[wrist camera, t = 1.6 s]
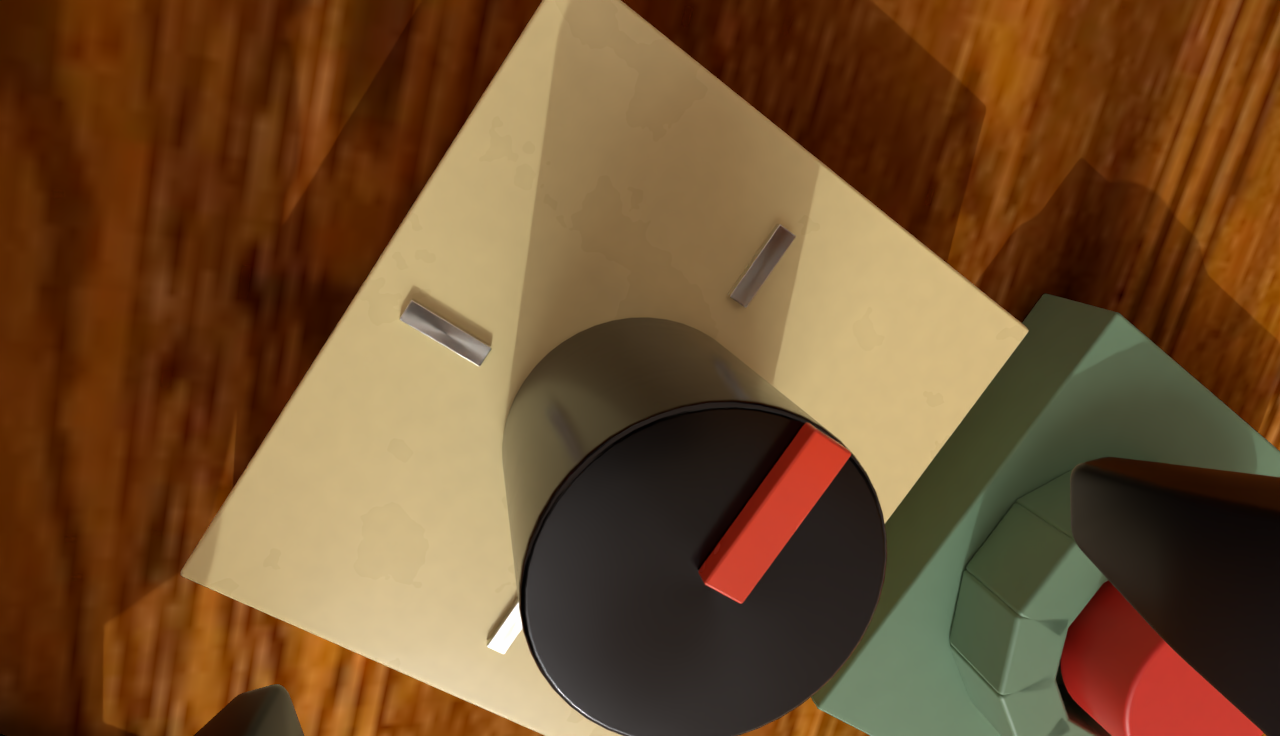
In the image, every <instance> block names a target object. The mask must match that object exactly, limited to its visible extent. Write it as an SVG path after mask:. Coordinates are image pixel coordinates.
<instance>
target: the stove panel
mask: <svg viewBox="0 0 1280 736" xmlns="http://www.w3.org/2000/svg"><path fill="white" fill-rule="evenodd" d="M643 317H650V318H658V319H667V320H671V321H675V322H679V323H682V324H685V325H688V326H690V327H693V328H695V329H697V330H699V331H701V332H703V333H705V334H706V335H708V336H710V337H712V338H713V339H715V340H716V341H717V342H718V343H720V344H721V345H722V346H723V347H725V348H726V349H727V350H729V351H730V352H731V353H732V354H734V355H735V356H736V357H737V358H738V359H740V360H741V361H742V362H743V363H745V364H746V365H747V366H748V367H750V368H751V369H752V370H753V371H755V372H756V373H757V374H758V375H760V376H761V377H762V378H763V379H765V380H766V381H767V382H768V383H770V384H771V385H772V386H773V387H775V388H776V389H777V390H778V391H780V392H781V393H782V394H783V395H785V396H786V397H787V398H788V399H790V400H791V401H792V402H793V403H795V404H796V405H797V406H798V407H800V408H801V409H802V410H803V411H805V412H806V413H807V414H808V415H810V416H811V417H812V418H813V419H815V420H816V421H817V422H818V423H820V424H821V425H822V426H823V427H825V428H826V429H827V430H828V431H830V432H831V433H832V434H833V435H834V436H836V437H837V438H838V439H839V440H841V441H842V443H843V444H844V445H845V446H846V447H847V448H848V449H849V450H850V451H851V452H852V453H853V454H854V455H855V457H856V458H857V459H858V461H859V462H860V464H861V465H862V467H863V468H864V470H865V471H866V472H867V474H868V476H869V478H870V480H871V482H872V484H873V486H874V489H875V491H876V493H877V496H878V499H879V502H880V506H881V509H882V512H883V517H884V523H886V522H887V520H888V519H889V518H890V516H891V515H892V514H893V512H894V511H895V510H896V508H897V507H898V506H899V504H900V503H901V502H902V500H903V499H904V498H905V496H906V495H907V494H908V492H909V491H910V490H911V488H912V487H913V486H914V484H915V483H916V482H917V480H918V479H919V478H920V476H921V475H922V474H923V472H924V471H925V470H926V468H927V467H928V466H929V464H930V463H931V462H932V460H933V459H934V458H935V456H936V455H937V453H938V452H939V451H940V449H941V448H942V447H943V445H944V444H945V443H946V441H947V440H948V439H949V437H950V436H951V435H952V433H953V432H954V431H955V429H956V428H957V427H958V425H959V424H960V423H961V421H962V420H963V419H964V417H965V416H966V415H967V413H968V412H969V411H970V409H971V408H972V407H973V405H974V404H975V403H976V401H977V400H978V399H979V397H980V396H981V395H982V393H983V392H984V391H985V389H986V388H987V387H988V385H989V384H990V383H991V381H992V380H993V379H994V377H995V376H996V375H997V373H998V372H999V371H1000V369H1001V368H1002V366H1003V365H1004V364H1005V362H1006V361H1007V360H1008V358H1009V357H1010V356H1011V354H1012V353H1013V352H1014V350H1015V349H1016V348H1017V346H1018V345H1019V344H1020V342H1021V341H1022V340H1023V338H1024V337H1025V336H1026V334H1027V333H1028V331H1029V330H1028V328H1027V327H1026V326H1025V325H1023V324H1022V323H1021V322H1020V321H1018V320H1017V319H1016V318H1015V317H1013V316H1012V315H1011V314H1010V313H1008V312H1007V311H1006V310H1005V309H1003V308H1002V307H1001V306H1000V305H999V304H997V303H996V302H995V301H994V300H992V299H991V298H990V297H989V296H987V295H986V294H985V293H984V292H982V291H981V290H980V289H979V288H977V287H976V286H975V285H974V284H972V283H971V282H970V281H969V280H968V279H966V278H965V277H964V276H963V275H961V274H960V273H959V272H958V271H956V270H955V269H954V268H953V267H951V266H950V265H949V264H948V263H946V262H945V261H944V260H943V259H941V258H940V257H939V256H938V255H936V254H935V253H934V252H933V251H932V250H930V249H929V248H928V247H927V246H925V245H924V244H923V243H922V242H920V241H919V240H918V239H917V238H915V237H914V236H913V235H912V234H910V233H909V232H908V231H907V230H905V229H904V228H903V227H902V226H900V225H899V224H898V223H897V222H896V221H894V220H893V219H892V218H891V217H889V216H888V215H887V214H886V213H884V212H883V211H882V210H881V209H879V208H878V207H877V206H876V205H874V204H873V203H872V202H871V201H869V200H868V199H867V198H866V197H864V196H863V195H862V194H861V193H860V192H858V191H857V190H856V189H855V188H853V187H852V186H851V185H850V184H848V183H847V182H846V181H845V180H843V179H842V178H841V177H840V176H838V175H837V174H836V173H835V172H833V171H832V170H831V169H830V168H828V167H827V166H826V165H825V164H824V163H822V162H821V161H820V160H819V159H817V158H816V157H815V156H814V155H812V154H811V153H810V152H809V151H807V150H806V149H805V148H804V147H802V146H801V145H800V144H799V143H797V142H796V141H795V140H794V139H792V138H791V137H790V136H789V135H788V134H786V133H785V132H784V131H783V130H781V129H780V128H779V127H778V126H776V125H775V124H774V123H773V122H771V121H770V120H769V119H768V118H766V117H765V116H764V115H763V114H761V113H760V112H759V111H758V110H756V109H755V108H754V107H753V106H752V105H750V104H749V103H748V102H747V101H745V100H744V99H743V98H742V97H740V96H739V95H738V94H737V93H735V92H734V91H733V90H732V89H730V88H729V87H728V86H727V85H725V84H724V83H723V82H722V81H720V80H719V79H718V78H717V77H716V76H714V75H713V74H712V73H711V72H709V71H708V70H707V69H706V68H704V67H703V66H702V65H701V64H699V63H698V62H697V61H696V60H694V59H693V58H692V57H691V56H689V55H688V54H687V53H686V52H684V51H683V50H682V49H681V48H680V47H678V46H677V45H676V44H675V43H673V42H672V41H671V40H670V39H668V38H667V37H666V36H665V35H663V34H662V33H661V32H660V31H658V30H657V29H656V28H655V27H653V26H652V25H651V24H650V23H648V22H647V21H646V20H645V19H644V18H642V17H641V16H640V15H639V14H637V13H636V12H635V11H634V10H632V9H631V8H630V7H629V6H627V5H626V4H625V3H624V2H622V1H621V0H542V2H541V3H540V5H539V6H538V8H537V9H536V11H535V13H534V14H533V16H532V17H531V19H530V21H529V22H528V24H527V25H526V27H525V28H524V30H523V32H522V33H521V35H520V36H519V38H518V39H517V41H516V43H515V44H514V46H513V47H512V49H511V51H510V52H509V54H508V55H507V57H506V58H505V60H504V62H503V63H502V65H501V66H500V68H499V69H498V71H497V73H496V74H495V76H494V77H493V79H492V80H491V82H490V84H489V85H488V87H487V88H486V90H485V92H484V93H483V95H482V96H481V98H480V99H479V101H478V103H477V104H476V106H475V107H474V109H473V110H472V112H471V114H470V115H469V117H468V118H467V120H466V122H465V123H464V125H463V126H462V128H461V129H460V131H459V133H458V134H457V136H456V137H455V139H454V140H453V142H452V144H451V145H450V147H449V148H448V150H447V151H446V153H445V155H444V156H443V158H442V159H441V161H440V163H439V164H438V166H437V167H436V169H435V170H434V172H433V174H432V175H431V177H430V178H429V180H428V181H427V183H426V185H425V186H424V188H423V189H422V191H421V193H420V194H419V196H418V197H417V199H416V200H415V202H414V204H413V205H412V207H411V208H410V210H409V211H408V213H407V215H406V216H405V218H404V219H403V221H402V222H401V224H400V226H399V227H398V229H397V230H396V232H395V234H394V235H393V237H392V238H391V240H390V241H389V243H388V245H387V246H386V248H385V249H384V251H383V252H382V254H381V256H380V257H379V259H378V260H377V262H376V264H375V265H374V267H373V268H372V270H371V271H370V273H369V275H368V276H367V278H366V279H365V281H364V282H363V284H362V286H361V287H360V289H359V290H358V292H357V293H356V295H355V297H354V298H353V300H352V301H351V303H350V305H349V306H348V308H347V309H346V311H345V312H344V314H343V316H342V317H341V319H340V320H339V322H338V323H337V325H336V327H335V328H334V330H333V331H332V333H331V334H330V336H329V338H328V339H327V341H326V342H325V344H324V346H323V347H322V349H321V350H320V352H319V353H318V355H317V357H316V358H315V360H314V361H313V363H312V364H311V366H310V368H309V369H308V371H307V372H306V374H305V376H304V377H303V379H302V380H301V382H300V383H299V385H298V387H297V388H296V390H295V391H294V393H293V394H292V396H291V398H290V399H289V401H288V402H287V404H286V405H285V407H284V409H283V410H282V412H281V413H280V415H279V417H278V418H277V420H276V421H275V423H274V424H273V426H272V428H271V429H270V431H269V432H268V434H267V435H266V437H265V439H264V440H263V442H262V443H261V445H260V447H259V448H258V450H257V451H256V453H255V454H254V456H253V458H252V459H251V461H250V462H249V464H248V465H247V467H246V469H245V470H244V472H243V473H242V475H241V476H240V478H239V480H238V481H237V483H236V484H235V486H234V488H233V489H232V491H231V492H230V494H229V495H228V497H227V499H226V500H225V502H224V503H223V505H222V506H221V508H220V510H219V511H218V513H217V514H216V516H215V518H214V519H213V521H212V522H211V524H210V525H209V527H208V529H207V530H206V532H205V533H204V535H203V536H202V538H201V540H200V541H199V543H198V544H197V546H196V547H195V549H194V551H193V552H192V554H191V555H190V557H189V559H188V560H187V562H186V563H185V565H184V566H183V568H182V570H181V576H182V577H184V578H187V579H189V580H191V581H194V582H196V583H198V584H200V585H203V586H205V587H207V588H210V589H212V590H214V591H216V592H219V593H221V594H223V595H225V596H228V597H230V598H232V599H235V600H237V601H239V602H241V603H244V604H246V605H248V606H251V607H253V608H255V609H257V610H260V611H262V612H264V613H267V614H269V615H271V616H273V617H276V618H278V619H280V620H283V621H285V622H287V623H289V624H292V625H294V626H296V627H298V628H301V629H303V630H305V631H308V632H310V633H312V634H314V635H317V636H319V637H321V638H324V639H326V640H328V641H330V642H333V643H335V644H337V645H340V646H342V647H344V648H346V649H349V650H351V651H353V652H356V653H358V654H360V655H362V656H365V657H367V658H369V659H372V660H374V661H376V662H378V663H381V664H383V665H385V666H387V667H390V668H392V669H394V670H397V671H399V672H401V673H403V674H406V675H408V676H410V677H413V678H415V679H417V680H419V681H422V682H424V683H426V684H429V685H431V686H433V687H435V688H438V689H440V690H442V691H445V692H447V693H449V694H451V695H454V696H456V697H458V698H460V699H463V700H465V701H467V702H470V703H472V704H474V705H476V706H479V707H481V708H483V709H486V710H488V711H490V712H492V713H495V714H497V715H499V716H502V717H504V718H506V719H508V720H511V721H513V722H515V723H518V724H520V725H522V726H524V727H527V728H529V729H531V730H534V731H536V732H538V733H540V734H543V735H545V736H622V735H620V734H617V733H614V732H612V731H609V730H606V729H605V728H603V727H601V726H599V725H597V724H595V723H594V722H592V721H590V720H588V719H587V718H585V717H584V716H582V715H581V714H580V713H578V712H577V711H576V710H574V709H573V708H572V707H570V706H569V705H568V704H567V703H566V702H565V701H564V700H563V699H562V698H561V697H560V696H559V695H558V694H557V693H556V692H555V691H554V690H553V689H552V687H551V686H550V685H549V683H548V682H547V681H546V679H545V678H544V676H543V675H542V674H541V672H540V671H539V669H538V667H537V665H536V663H535V661H534V659H533V657H532V655H531V653H530V651H529V648H528V645H527V642H526V639H525V636H524V633H523V628H522V622H521V617H520V611H519V603H518V594H517V585H516V576H515V568H514V559H513V550H512V541H511V533H510V524H509V515H508V506H507V498H506V489H505V480H504V471H503V461H502V443H503V435H504V428H505V424H506V420H507V416H508V413H509V410H510V408H511V405H512V403H513V400H514V398H515V396H516V394H517V392H518V391H519V389H520V387H521V385H522V384H523V382H524V380H525V379H526V378H527V376H528V375H529V374H530V372H531V371H532V370H533V369H534V367H535V366H536V365H537V364H538V363H539V362H540V361H541V360H542V359H543V358H544V357H545V356H546V355H547V354H548V353H549V352H550V351H552V350H553V349H554V348H556V347H557V346H558V345H560V344H561V343H562V342H564V341H565V340H567V339H569V338H570V337H572V336H574V335H575V334H577V333H579V332H581V331H584V330H586V329H588V328H591V327H593V326H595V325H599V324H602V323H606V322H609V321H613V320H619V319H626V318H643Z"/></svg>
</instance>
